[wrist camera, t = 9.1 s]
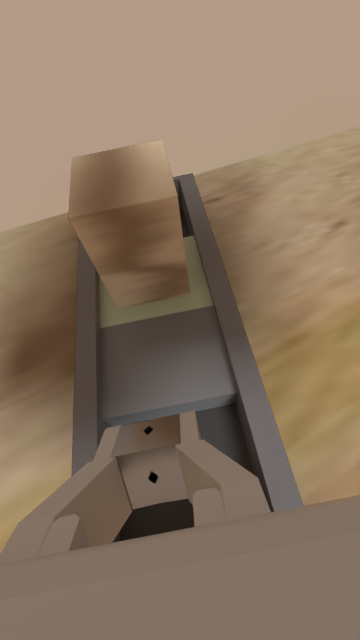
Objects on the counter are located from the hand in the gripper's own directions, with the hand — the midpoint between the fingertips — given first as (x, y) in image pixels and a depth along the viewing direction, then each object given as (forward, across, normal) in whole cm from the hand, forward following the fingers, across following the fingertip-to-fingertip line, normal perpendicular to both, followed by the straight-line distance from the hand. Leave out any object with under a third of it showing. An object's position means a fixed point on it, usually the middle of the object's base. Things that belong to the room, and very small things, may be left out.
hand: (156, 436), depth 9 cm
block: (+16, 0, -4) cm, 17 cm away
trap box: (+16, 0, +1) cm, 16 cm away
